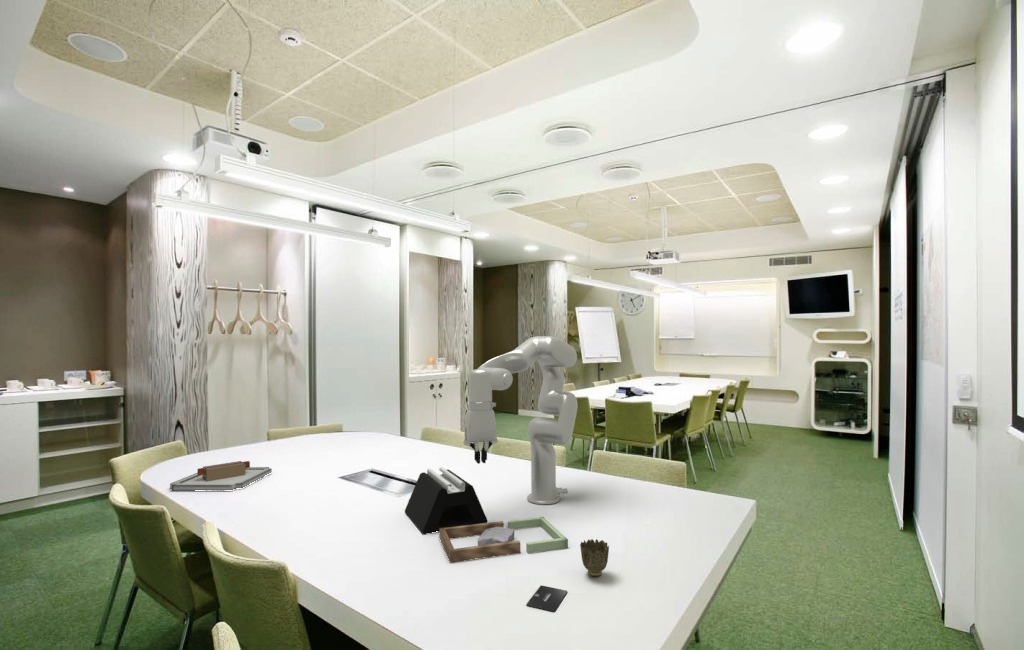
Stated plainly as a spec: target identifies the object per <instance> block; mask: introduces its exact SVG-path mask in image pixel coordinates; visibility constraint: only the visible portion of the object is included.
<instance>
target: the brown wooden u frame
mask: <svg viewBox="0 0 1024 650" xmlns="http://www.w3.org/2000/svg"><path fill="white" fill-rule="evenodd" d="M494 527H504V528H505V522H504V520H500V521H491V522H490V521H489V522H487V523H481V524H473V525H464V526H456V527H447V528H439V532H438V539H439V538H440V539H439V541H440V540H441V541H440V543H441V546H442V545H443V546H442V547H444V548H443V550H444V553H445V552H446V553H445V555H446V554H447V555H446V557H447V556H448V557H447V560H448V559H449V560H448V561H450V562H452V563H458V561H459V562H465V561H464V560H466V561H471V560H470V559H474V560H476V559H475V558H481V559H484V558H483V557H488V558H494V557H493V556H495V557H501V556H500V555H502V556H507V554H509V555H515V554H516V553H517V554H521V541H520V540H513V541H510V542H503V543H495V544H488V545H480V546H478V545H475V546H468V547H467V546H465V547H459V548H458V547H457V548H455V547H454V545H453V544H452V542H451V539H450V538H453V539H459V537H461V538H466V537H467V536H469V537H475V536H474V535H477V536H481V534H482V533H483V532H484V531H485V530H486V529H489V528H494ZM467 538H468V537H467ZM450 562H449V563H450Z"/></svg>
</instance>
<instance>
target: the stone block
mask: <svg viewBox="0 0 1024 650" xmlns="http://www.w3.org/2000/svg"><path fill="white" fill-rule="evenodd" d="M514 539H515V530H514V529H509V528H508V527H505V526H504V527H494V528H489V529H486V530H485V531H484V532H483V533H482V534H481V535H479V537H478V539H477V546H480V545H488V544H495V543H503V542H510V541H514Z"/></svg>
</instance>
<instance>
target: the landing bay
mask: <svg viewBox="0 0 1024 650" xmlns="http://www.w3.org/2000/svg"><path fill="white" fill-rule="evenodd" d="M536 527H537V528H538V527H541V528H542V529H543V530H544V531H545V532H546V534H548V535H549V536H550V537H551V539H550V538H549V539H543V540H536V541H528V542H526V545H525V546H526V553H527V554H534V553H539V552H540V553H541V552H542V553H543V552H547V551H555V550H556V551H557V550H562V549H563V550H564V549H568V548H569V539H568V538H567V537H566V536H565V535H564V534H563V532H561V531H560V530H558V528H556V527H555V526H554V525H553V524H552V523H551V522H550V521H549V520H547V518H545V516H537V517H528V518H522V519H513V520H512V519H511V520H507V528H509V529H514V531H516V530H522V529H529V528H536Z"/></svg>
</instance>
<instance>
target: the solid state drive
mask: <svg viewBox="0 0 1024 650" xmlns="http://www.w3.org/2000/svg"><path fill="white" fill-rule="evenodd" d="M567 594H568V590H566V589H560V588H556V587H552V586H547V585H543V584H542V585H539V587H538V589H536V591H535V592H534V594H533V595H532V596H531V598H530V599H529V600H528V602H526V604H525V606H526V607H528V608H532V609H536V610H542V611H546V612H550V613H555V612H557V610H558V608H559V607H560V605H561V603H562V602H563V600H564V599H565V597H566V596H567Z"/></svg>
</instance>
